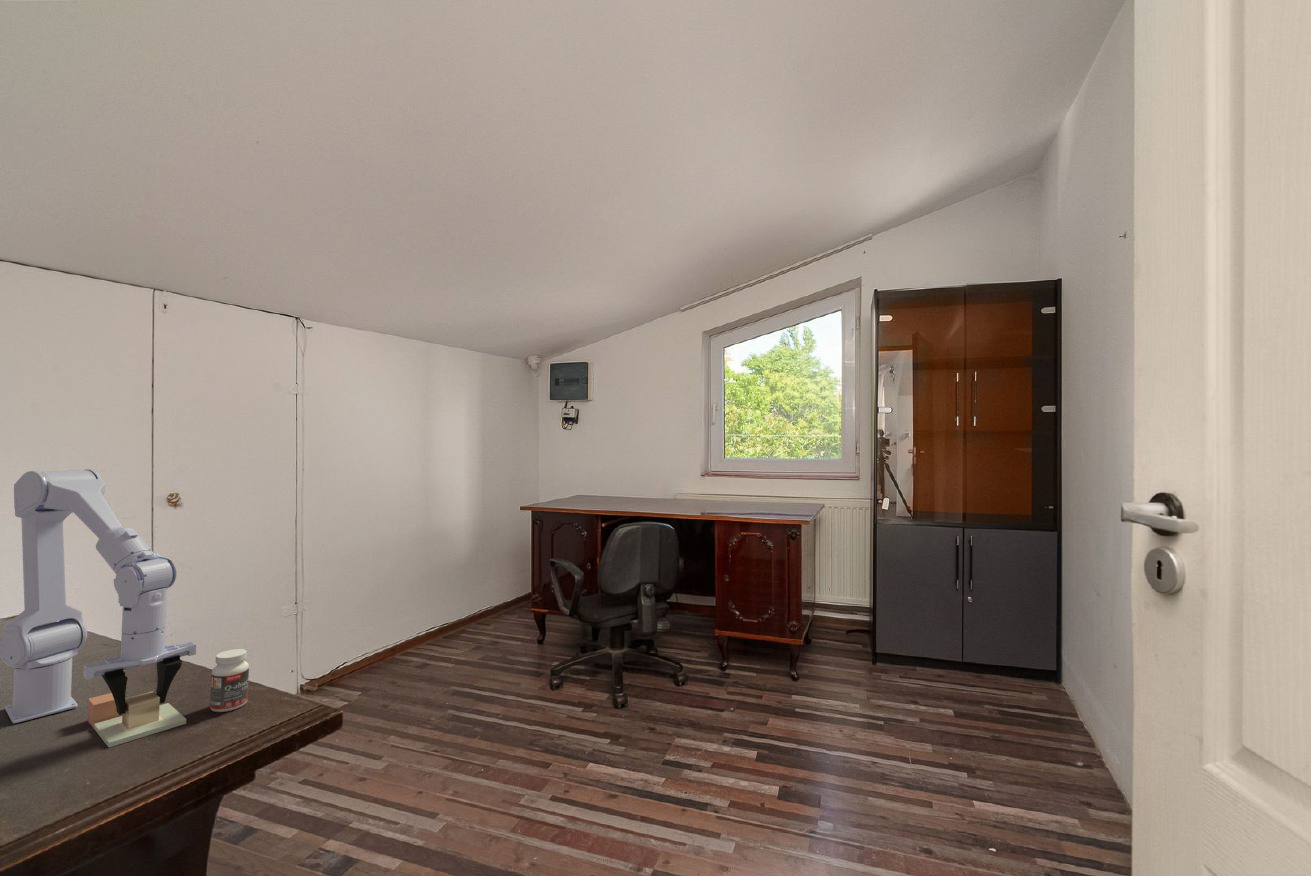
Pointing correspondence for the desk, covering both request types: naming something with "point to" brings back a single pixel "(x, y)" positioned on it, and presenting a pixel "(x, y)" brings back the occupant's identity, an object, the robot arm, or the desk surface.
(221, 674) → the pill bottle
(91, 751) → the desk surface
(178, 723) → the board
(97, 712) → the terracotta cube
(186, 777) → the desk surface
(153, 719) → the beech cube
